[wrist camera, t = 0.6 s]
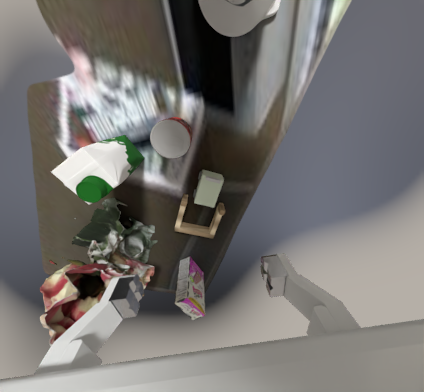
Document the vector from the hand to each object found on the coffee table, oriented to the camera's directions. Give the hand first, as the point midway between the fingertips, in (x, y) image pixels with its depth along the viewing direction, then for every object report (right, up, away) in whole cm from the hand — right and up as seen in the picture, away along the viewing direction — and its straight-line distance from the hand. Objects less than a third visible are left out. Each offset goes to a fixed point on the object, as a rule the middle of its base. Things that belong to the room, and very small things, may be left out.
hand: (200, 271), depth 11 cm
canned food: (-8, +21, +33) cm, 40 cm away
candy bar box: (-7, -23, +56) cm, 60 cm away
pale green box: (-1, +8, +40) cm, 41 cm away
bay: (-4, -1, +44) cm, 44 cm away
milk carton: (-23, +16, +34) cm, 44 cm away
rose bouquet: (-30, -10, +48) cm, 57 cm away
